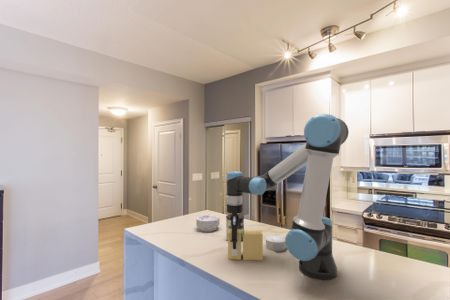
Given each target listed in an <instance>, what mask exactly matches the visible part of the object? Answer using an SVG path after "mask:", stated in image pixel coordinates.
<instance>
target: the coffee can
mask: <svg viewBox="0 0 450 300" xmlns="http://www.w3.org/2000/svg"><path fill="white" fill-rule="evenodd" d="M237 214H238V215H239V220H238V226H237V230H241V243H243V230H245V219H244V218H245V216H244V215H243V214H241V213H237ZM231 215H232V213H229V214H227V215H226V216H225V218H226V220H225V221H226V223H225V224H226V227H225V228H226V230H225V231H226V232H225V233H226V240H225V241H226V242H228V231H229V229H232V226H231V220H230V217H231Z"/></svg>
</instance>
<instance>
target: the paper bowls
mask: <svg viewBox="0 0 450 300" xmlns="http://www.w3.org/2000/svg"><path fill="white" fill-rule="evenodd" d="M195 220H196V221H195V222H196V227H197V228H199V230H200V231H201V232H206V233H208V232H213V231H216V230H217V227H219V226H220V217H219V216H217V215H210V214H208V215H207V214H206V215H200V216H197V217H196V219H195Z"/></svg>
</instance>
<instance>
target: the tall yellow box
mask: <svg viewBox="0 0 450 300" xmlns="http://www.w3.org/2000/svg"><path fill="white" fill-rule="evenodd" d="M263 241H264V239H263V231H262V230H245V229H244V230H243V241H242V260H244V261H245V260H247V261H248V260H249V261H263V259H264V258H263V256H264V253H263V250H264V247H263V244H264V243H263Z"/></svg>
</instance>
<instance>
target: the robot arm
mask: <svg viewBox="0 0 450 300" xmlns="http://www.w3.org/2000/svg"><path fill="white" fill-rule="evenodd" d="M303 135H304V139H305V141H306V142H305V143H304V144H303V145H302V146H301V147H299V148H298V149H296V150H295V151H294V152H292V153H291V154H290V155H288V156H287V157H286V158H284V159H283V160H281V161H280V162H279V163H277V164H276V165H275V166H274V167H272V168H271V169H270V170H268V171H267V172H265V173H264V174H261V175H257V176H244V175H243V172H242V171H228V172H227V173H226V196H225V199H226V212H227V213H228V214H232V215H231V217H230V220H231V226H232V240H230V242H232V256H237V226H238V220H239V215H238V214H241V213H243V201H244V200H243V194H249V195H255V196H257V195H259V196H261V195H264V193H265V192H266V191H271V190H274V189H275V188H277V186H278V184H280V183H282V182H283V181H284V180H285V179H287V178H289V177H291V176H292V175H293V174H294V173H296V172H297V171H299V170H301V168H303V167H305V166H306V168H305V174H304V178H303V182H302V183H303V184H302V189H301V196H300V201H299V207H298V211H297V212H298V213H297V215H295V216H293V218H292V222H291V223H292V224H291V228H290V230H289V231H288V232H287V233H286V235H285V244H286V249H287V250H288V251H289V254H291V255H292V257H294V258H295V259H297V260H299V262H298V269H299V271H300V272H301V273H302V274H304V275H305V276H308V277H310V278H311V279H316V280H325V281H326V280H332V279H334V278H336V277H337V276H338V267H337V264H336V261H335V258H334V255H333V223H332V219H331V218H329V217H326V216H323V215H324V210H325V205H326V199H327V194H328V188H329V183H330V178H331V174H332V173H331V172H332V168H333V162H334V158H336V157H337V156H339V155H340V150H341V146H342V145H343V144H345V142H346V140H347V139H348V137H349V127H348V125H347V123H346V122H345V121H344V120H342V119H341V118H338V117H336V116H334V115H333V114H328V113H327V114H326V113H321V114H317V115H314V116H312V117H311V118H310V119H308V121H307V122H306V124H305V125H304V128H303Z"/></svg>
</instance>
